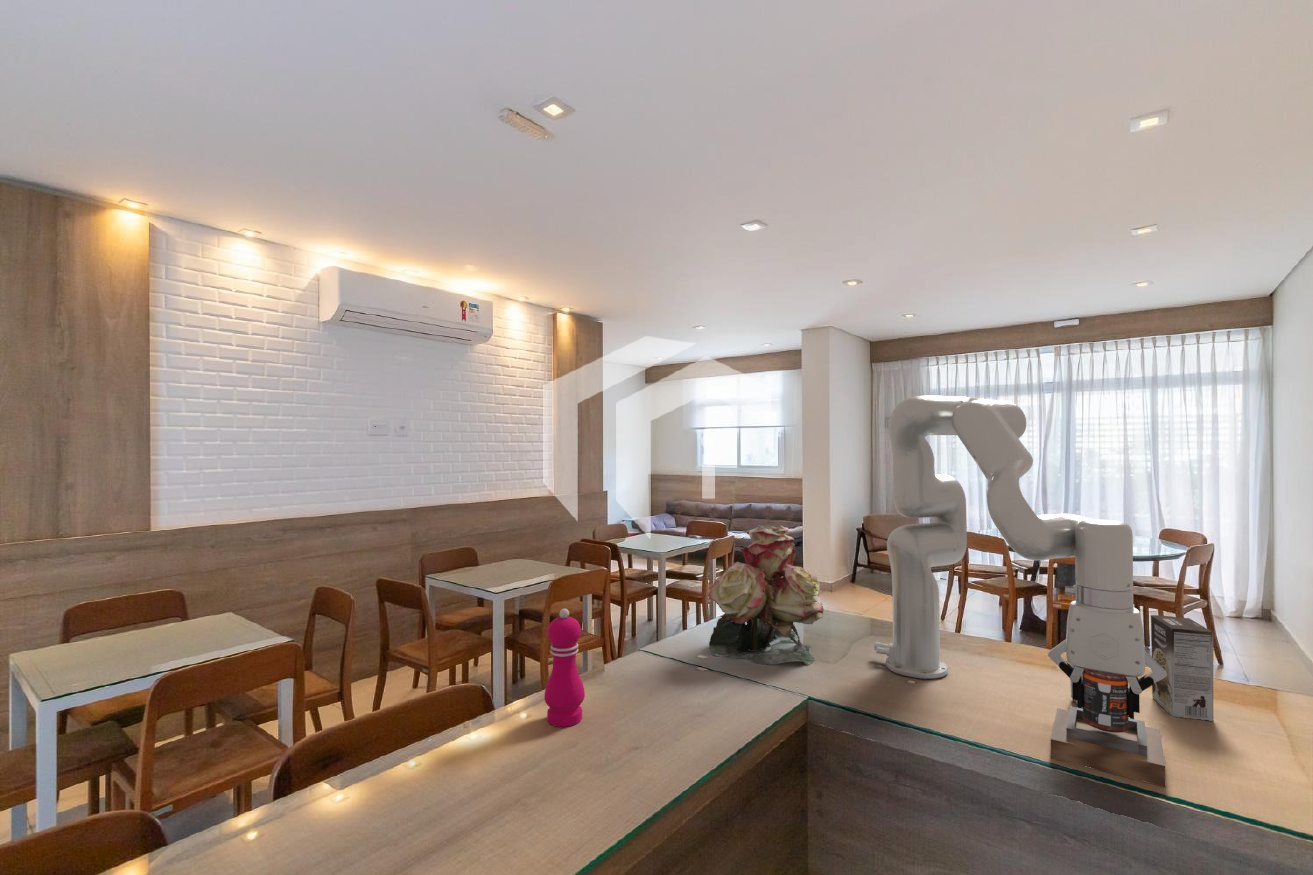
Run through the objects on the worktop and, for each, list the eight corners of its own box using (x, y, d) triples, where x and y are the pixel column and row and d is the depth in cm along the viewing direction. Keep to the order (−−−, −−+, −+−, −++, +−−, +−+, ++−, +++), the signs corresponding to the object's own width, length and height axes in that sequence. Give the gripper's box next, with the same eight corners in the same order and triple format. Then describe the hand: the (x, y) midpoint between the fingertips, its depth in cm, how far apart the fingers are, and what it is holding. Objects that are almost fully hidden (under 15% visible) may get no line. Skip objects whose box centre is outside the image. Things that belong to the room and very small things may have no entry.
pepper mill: (591, 713, 115) (590, 605, 115) (573, 731, 108) (573, 615, 108) (556, 708, 117) (556, 602, 117) (537, 725, 110) (536, 612, 110)
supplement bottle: (1116, 737, 95) (1114, 663, 95) (1074, 722, 100) (1073, 652, 100) (1136, 729, 98) (1135, 657, 98) (1095, 714, 103) (1094, 646, 103)
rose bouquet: (700, 662, 142) (699, 530, 142) (734, 626, 169) (733, 516, 169) (815, 677, 132) (814, 536, 132) (831, 637, 159) (830, 520, 159)
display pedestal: (1050, 757, 98) (1050, 729, 98) (1057, 725, 109) (1057, 699, 109) (1165, 786, 89) (1165, 755, 89) (1160, 748, 101) (1159, 720, 101)
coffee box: (1150, 697, 120) (1149, 614, 120) (1191, 701, 118) (1190, 616, 118) (1171, 717, 112) (1170, 627, 112) (1215, 722, 110) (1214, 630, 110)
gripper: (1038, 594, 101) (1039, 705, 101) (1175, 611, 91) (1177, 734, 91) (1042, 586, 107) (1044, 690, 107) (1172, 600, 97) (1173, 715, 97)
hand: (1105, 709), depth 99 cm, fingers closed on supplement bottle, 5 cm apart
